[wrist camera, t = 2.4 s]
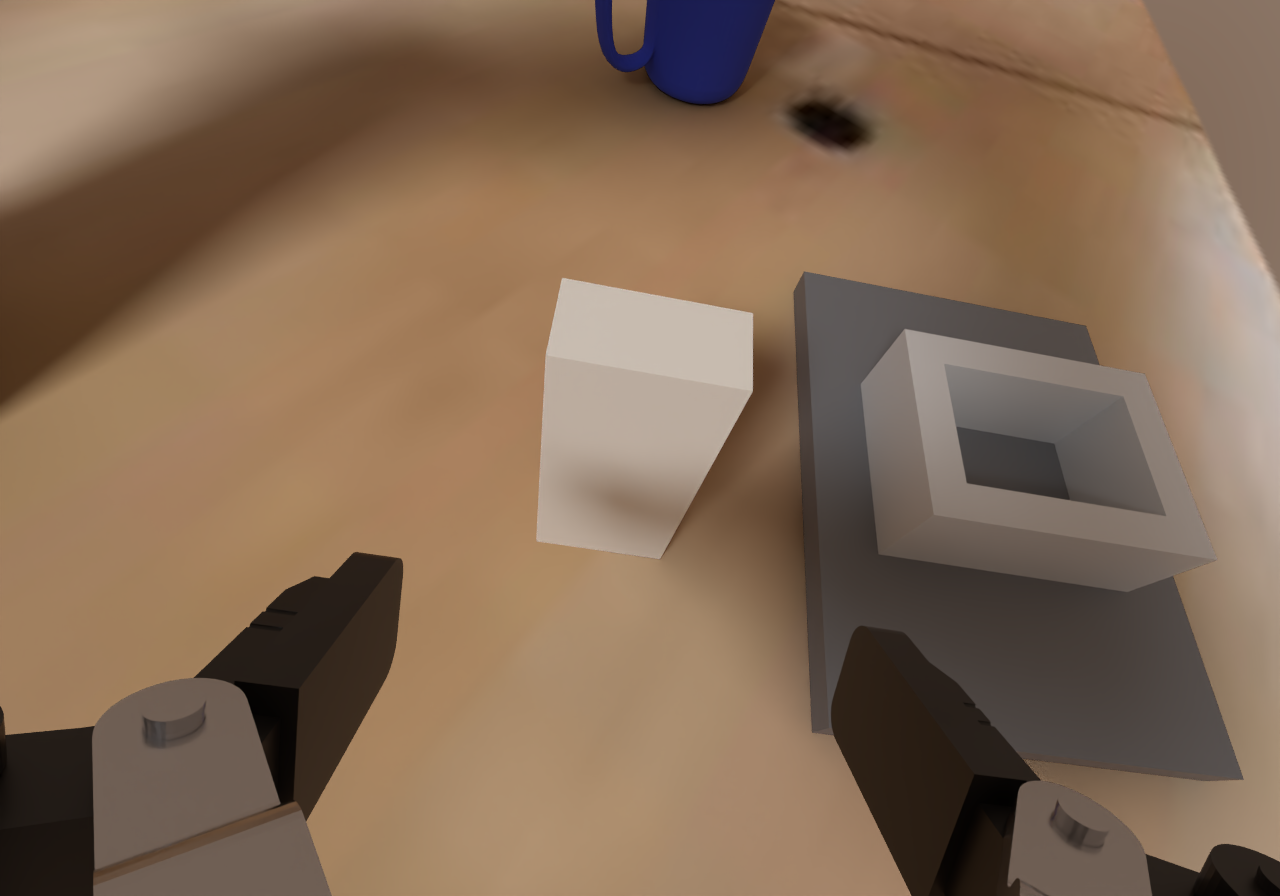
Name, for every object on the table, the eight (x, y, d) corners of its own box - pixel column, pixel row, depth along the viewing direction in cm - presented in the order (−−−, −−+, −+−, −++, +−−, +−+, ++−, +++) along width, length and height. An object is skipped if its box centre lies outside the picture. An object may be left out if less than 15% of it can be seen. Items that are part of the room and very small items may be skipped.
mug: (556, 63, 41) (565, -134, 33) (707, 38, 46) (750, -140, 37) (617, 140, 38) (644, -53, 30) (772, 106, 43) (835, -70, 34)
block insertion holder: (793, 291, 34) (836, 209, 30) (1065, 343, 36) (1148, 272, 31) (811, 732, 23) (886, 713, 18) (1205, 780, 25) (1368, 774, 20)
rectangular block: (546, 484, 26) (562, 277, 16) (664, 503, 27) (753, 312, 16) (536, 541, 25) (545, 355, 15) (660, 559, 26) (753, 391, 15)
